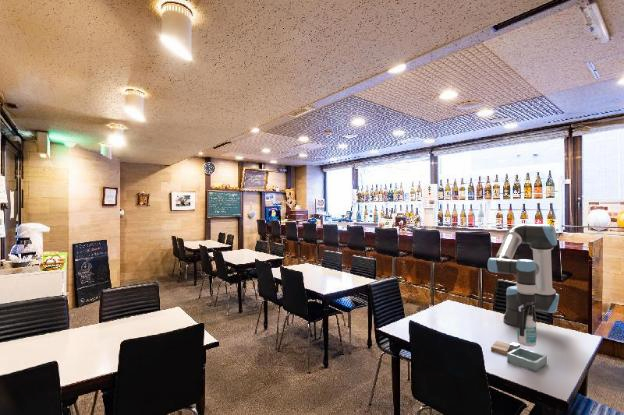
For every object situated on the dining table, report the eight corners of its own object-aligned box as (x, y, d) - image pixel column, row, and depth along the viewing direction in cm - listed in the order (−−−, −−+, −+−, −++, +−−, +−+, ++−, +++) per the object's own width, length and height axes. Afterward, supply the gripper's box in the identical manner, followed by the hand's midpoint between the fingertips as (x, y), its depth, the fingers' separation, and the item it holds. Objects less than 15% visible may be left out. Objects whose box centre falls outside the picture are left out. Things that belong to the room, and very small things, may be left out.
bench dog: (513, 351, 160) (513, 342, 160) (519, 354, 157) (519, 344, 157) (509, 354, 158) (509, 344, 158) (516, 356, 155) (516, 346, 155)
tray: (518, 354, 157) (518, 346, 157) (547, 364, 147) (547, 356, 147) (507, 361, 150) (507, 353, 150) (535, 372, 140) (535, 363, 140)
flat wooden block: (496, 345, 169) (496, 340, 169) (511, 349, 164) (511, 344, 164) (491, 351, 162) (491, 346, 162) (506, 356, 157) (506, 351, 157)
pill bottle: (527, 348, 144) (527, 319, 144) (513, 341, 151) (513, 313, 151) (540, 346, 146) (540, 317, 146) (525, 339, 153) (525, 312, 153)
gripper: (527, 287, 157) (527, 332, 157) (507, 294, 146) (507, 342, 146) (544, 290, 151) (544, 338, 151) (525, 297, 140) (525, 348, 140)
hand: (526, 340), depth 148 cm, fingers closed on pill bottle, 7 cm apart
